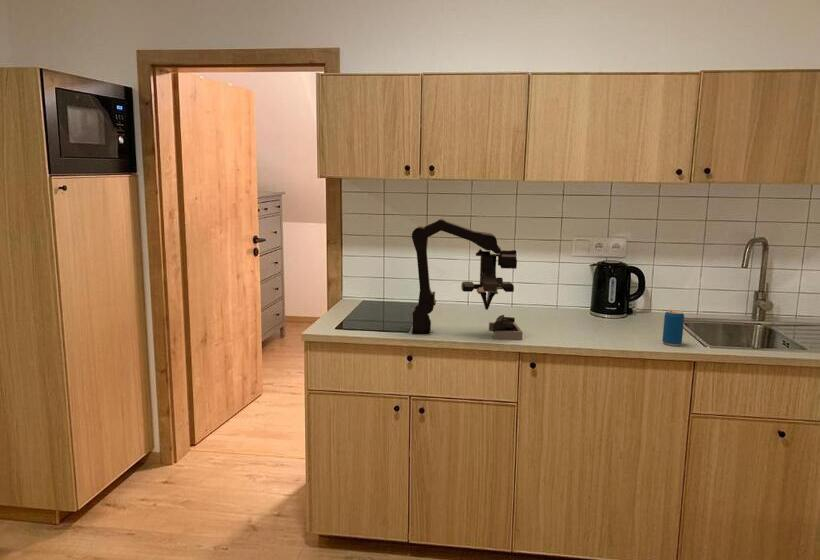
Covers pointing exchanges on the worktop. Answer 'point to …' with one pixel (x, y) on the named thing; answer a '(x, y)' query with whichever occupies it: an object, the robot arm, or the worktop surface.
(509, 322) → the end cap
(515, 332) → the grey shallow tray
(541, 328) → the worktop surface
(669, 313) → the beverage can
